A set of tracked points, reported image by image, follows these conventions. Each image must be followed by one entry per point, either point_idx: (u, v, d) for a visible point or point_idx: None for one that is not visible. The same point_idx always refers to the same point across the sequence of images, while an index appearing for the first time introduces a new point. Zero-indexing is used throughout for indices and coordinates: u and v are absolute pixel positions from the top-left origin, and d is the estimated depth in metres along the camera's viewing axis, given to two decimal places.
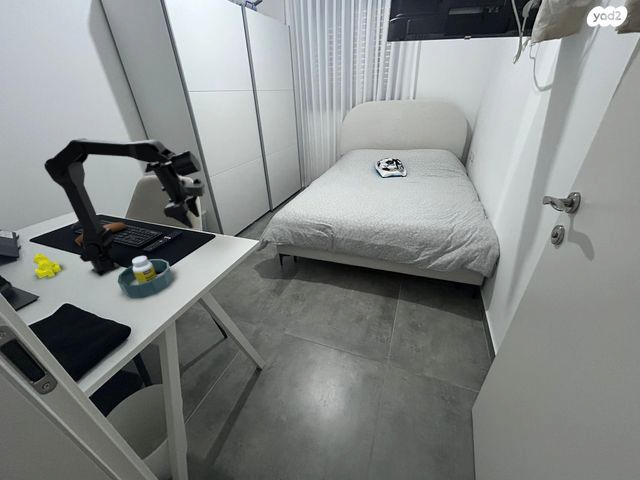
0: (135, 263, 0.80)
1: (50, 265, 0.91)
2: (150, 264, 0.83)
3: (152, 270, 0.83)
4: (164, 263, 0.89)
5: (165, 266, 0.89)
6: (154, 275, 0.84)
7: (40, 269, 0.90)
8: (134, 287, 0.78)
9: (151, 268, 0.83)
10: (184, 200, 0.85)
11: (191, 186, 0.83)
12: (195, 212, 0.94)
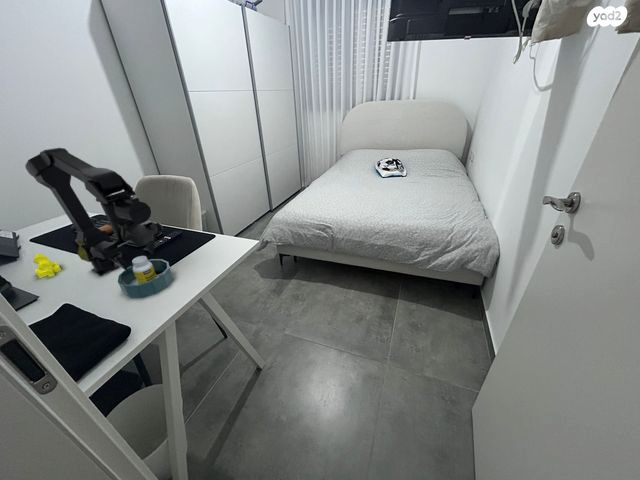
0: (135, 263, 0.80)
1: (50, 265, 0.91)
2: (150, 264, 0.83)
3: (152, 270, 0.83)
4: (164, 263, 0.89)
5: (165, 266, 0.89)
6: (154, 275, 0.84)
7: (40, 269, 0.90)
8: (134, 287, 0.78)
9: (151, 268, 0.83)
10: (126, 241, 0.75)
11: (133, 232, 0.73)
12: (150, 249, 0.84)
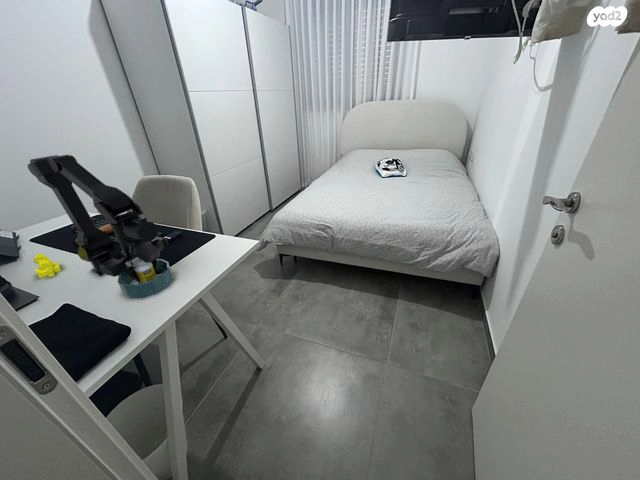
0: (135, 263, 0.80)
1: (50, 265, 0.91)
2: (150, 264, 0.83)
3: (152, 270, 0.83)
4: (164, 263, 0.89)
5: (165, 266, 0.89)
6: (154, 275, 0.84)
7: (40, 269, 0.90)
8: (134, 287, 0.78)
9: (151, 268, 0.83)
10: None
11: (141, 249, 0.75)
12: None
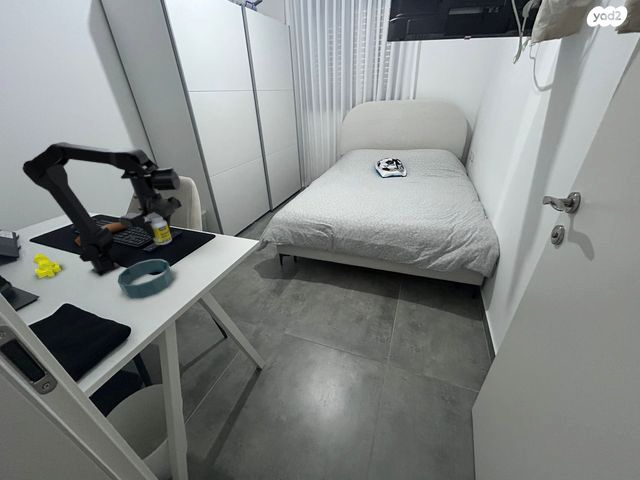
0: (151, 219, 0.85)
1: (50, 265, 0.91)
2: (165, 222, 0.88)
3: (167, 228, 0.89)
4: (164, 263, 0.89)
5: (165, 266, 0.89)
6: (168, 233, 0.90)
7: (40, 269, 0.90)
8: (134, 287, 0.78)
9: (166, 225, 0.88)
10: (155, 211, 0.85)
11: (157, 204, 0.81)
12: None
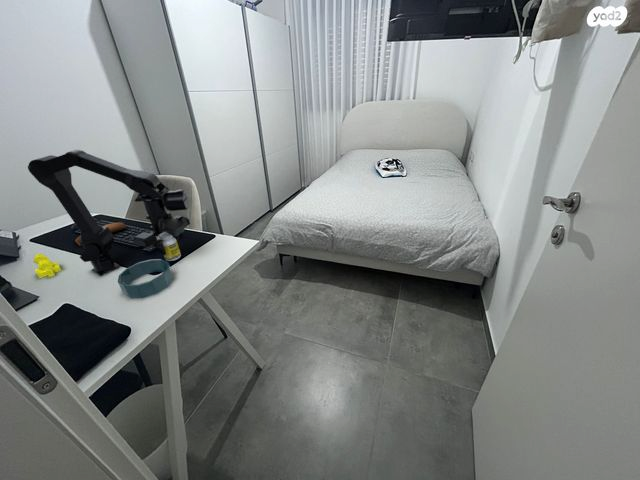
0: (162, 237, 0.90)
1: (50, 265, 0.91)
2: (175, 239, 0.94)
3: (176, 245, 0.94)
4: (164, 263, 0.89)
5: (165, 266, 0.89)
6: (178, 249, 0.95)
7: (40, 269, 0.90)
8: (134, 287, 0.78)
9: (175, 243, 0.94)
10: None
11: (169, 224, 0.86)
12: None
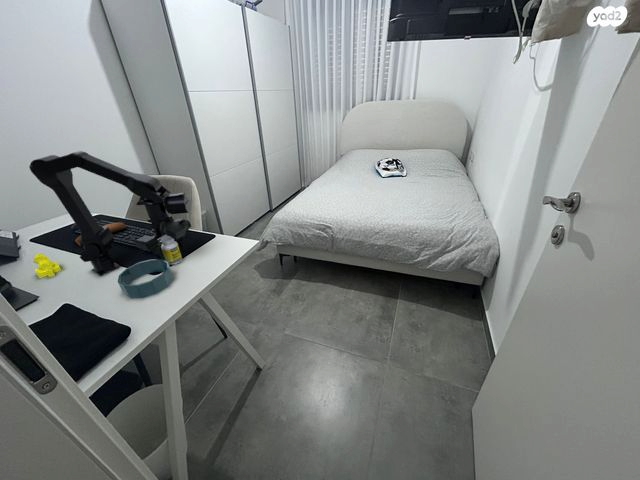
0: (164, 241, 0.91)
1: (50, 265, 0.91)
2: (176, 243, 0.94)
3: (177, 248, 0.95)
4: (164, 263, 0.89)
5: (165, 266, 0.89)
6: (179, 253, 0.96)
7: (40, 269, 0.90)
8: (134, 287, 0.78)
9: (177, 246, 0.94)
10: None
11: (170, 227, 0.87)
12: (180, 243, 0.99)
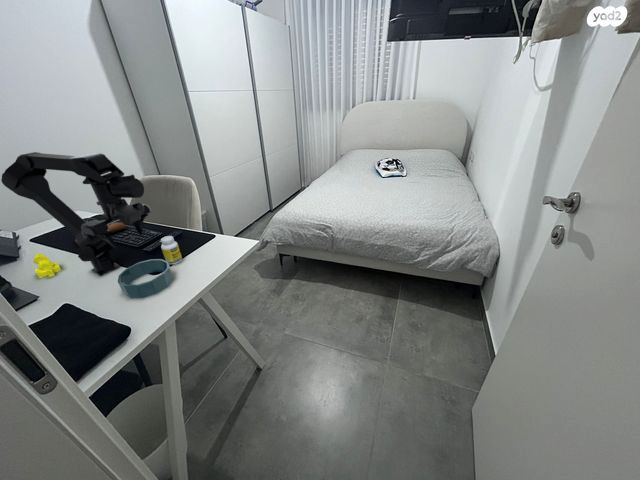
0: (164, 241, 0.91)
1: (50, 265, 0.91)
2: (176, 243, 0.94)
3: (177, 248, 0.95)
4: (164, 263, 0.89)
5: (165, 266, 0.89)
6: (179, 253, 0.96)
7: (40, 269, 0.90)
8: (134, 287, 0.78)
9: (177, 246, 0.94)
10: (115, 220, 0.81)
11: (121, 211, 0.78)
12: (138, 230, 0.90)
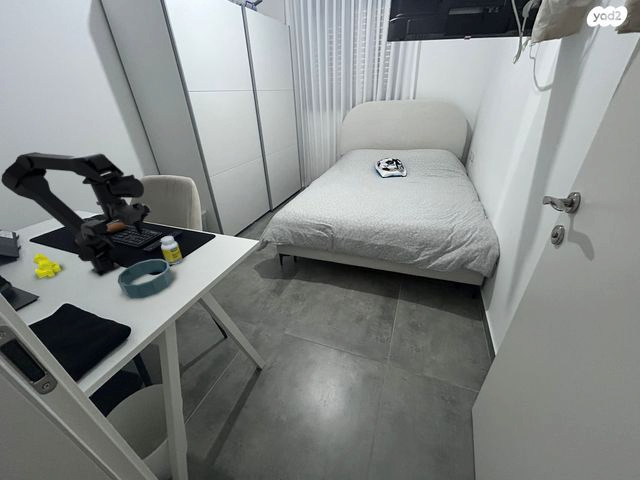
0: (164, 241, 0.91)
1: (50, 265, 0.91)
2: (176, 243, 0.94)
3: (177, 248, 0.95)
4: (164, 263, 0.89)
5: (165, 266, 0.89)
6: (179, 253, 0.96)
7: (40, 269, 0.90)
8: (134, 287, 0.78)
9: (177, 246, 0.94)
10: (115, 220, 0.80)
11: (121, 211, 0.78)
12: (138, 230, 0.90)
